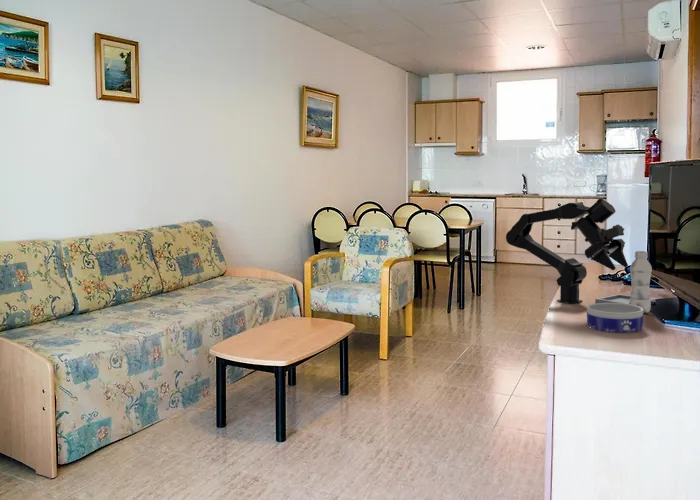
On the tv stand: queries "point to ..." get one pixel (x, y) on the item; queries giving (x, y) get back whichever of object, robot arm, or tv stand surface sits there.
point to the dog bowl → (615, 317)
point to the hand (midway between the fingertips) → (620, 268)
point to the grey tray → (617, 299)
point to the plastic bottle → (640, 281)
